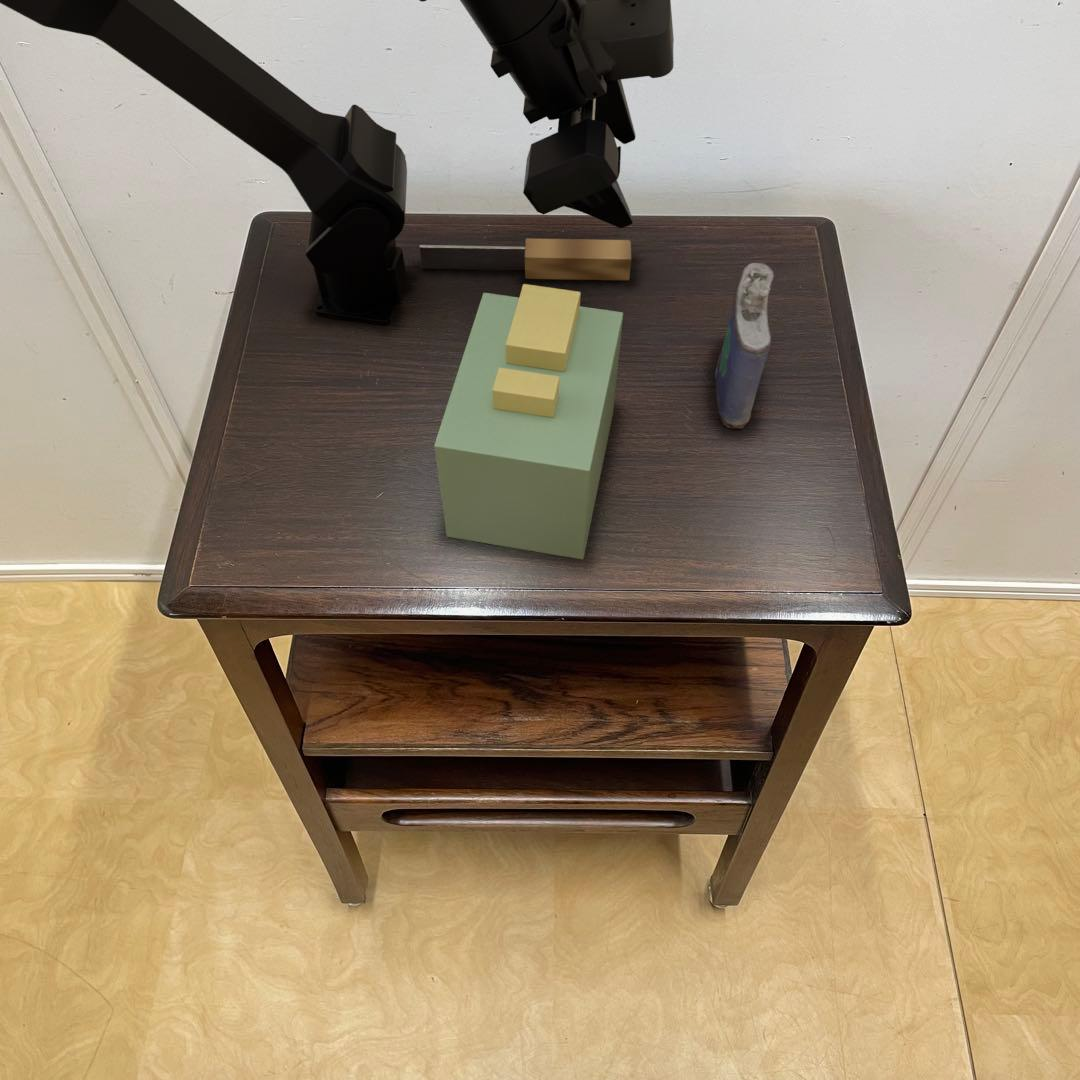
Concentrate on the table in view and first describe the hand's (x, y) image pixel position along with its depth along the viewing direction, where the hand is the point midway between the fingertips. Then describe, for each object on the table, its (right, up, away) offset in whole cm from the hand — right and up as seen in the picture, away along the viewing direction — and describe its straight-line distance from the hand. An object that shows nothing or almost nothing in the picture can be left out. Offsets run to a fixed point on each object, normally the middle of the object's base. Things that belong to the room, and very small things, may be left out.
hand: (628, 181), depth 76 cm
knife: (-8, -4, +10) cm, 14 cm away
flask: (+9, -15, +3) cm, 18 cm away
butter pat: (-8, -19, -12) cm, 23 cm away
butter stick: (-7, -14, -8) cm, 17 cm away
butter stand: (-7, -22, -1) cm, 24 cm away
